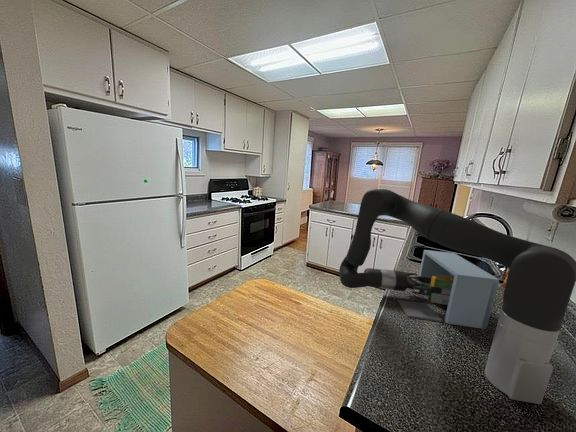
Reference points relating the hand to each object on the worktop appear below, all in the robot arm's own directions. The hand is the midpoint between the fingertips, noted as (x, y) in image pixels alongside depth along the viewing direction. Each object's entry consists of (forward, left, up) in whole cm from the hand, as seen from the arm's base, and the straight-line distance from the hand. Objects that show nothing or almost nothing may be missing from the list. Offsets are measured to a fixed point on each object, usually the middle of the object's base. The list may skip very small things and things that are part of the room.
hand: (435, 285), depth 91 cm
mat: (-9, +8, -7) cm, 14 cm away
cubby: (-2, -4, -7) cm, 8 cm away
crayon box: (0, -3, -7) cm, 7 cm away
